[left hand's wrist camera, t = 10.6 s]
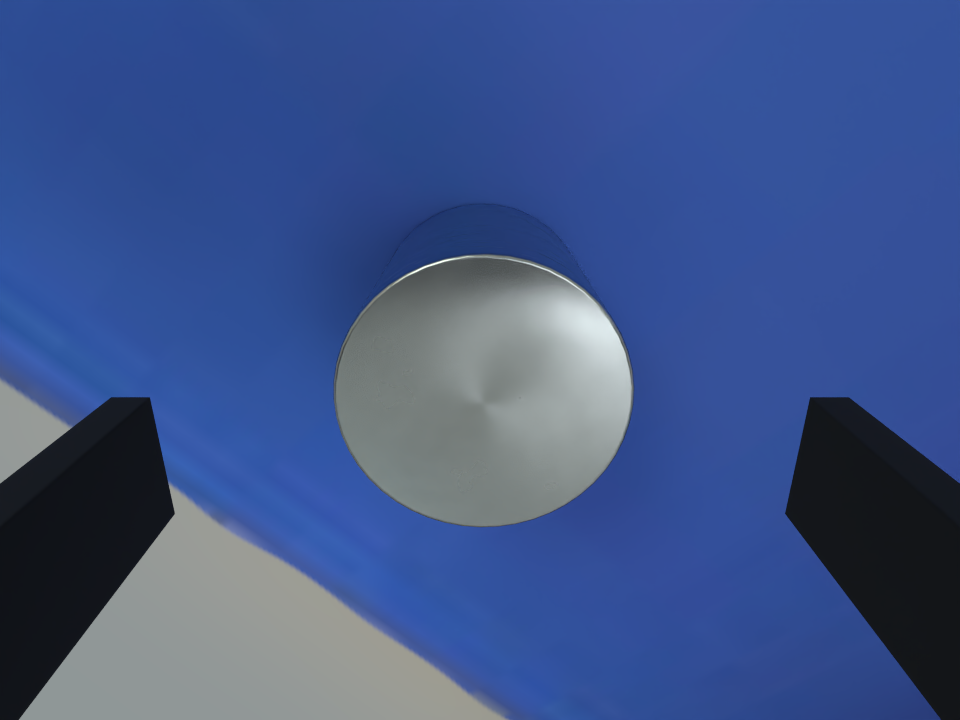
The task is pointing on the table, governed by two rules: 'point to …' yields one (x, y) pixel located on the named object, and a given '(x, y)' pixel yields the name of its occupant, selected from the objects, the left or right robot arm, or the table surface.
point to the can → (483, 373)
